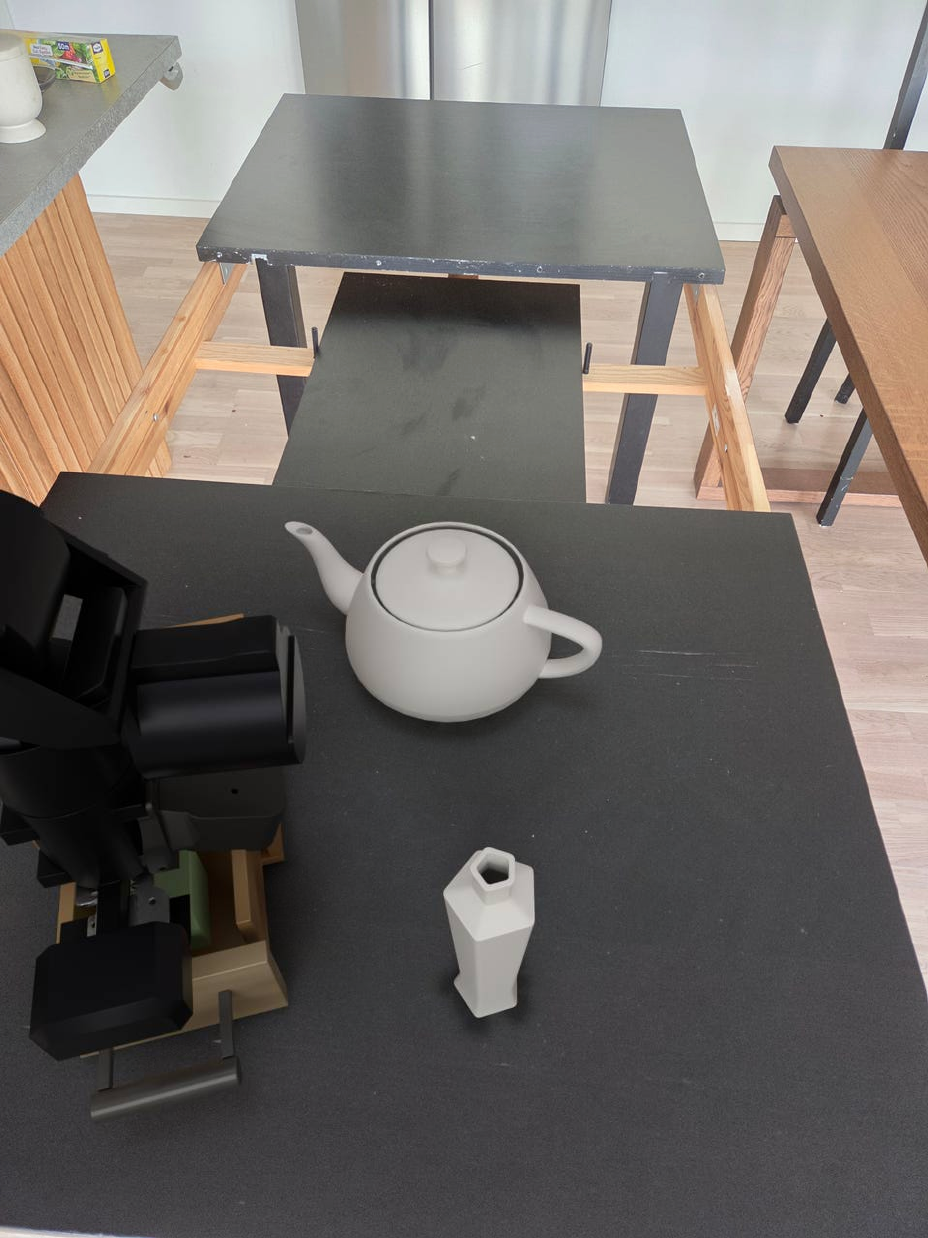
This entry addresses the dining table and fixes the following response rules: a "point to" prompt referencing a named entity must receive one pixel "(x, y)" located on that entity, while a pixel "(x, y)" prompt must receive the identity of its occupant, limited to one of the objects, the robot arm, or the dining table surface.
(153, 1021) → the robot arm
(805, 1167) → the dining table surface
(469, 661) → the teapot
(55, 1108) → the dining table surface
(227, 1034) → the drawer
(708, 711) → the dining table surface
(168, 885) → the block
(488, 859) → the white faceted vase
